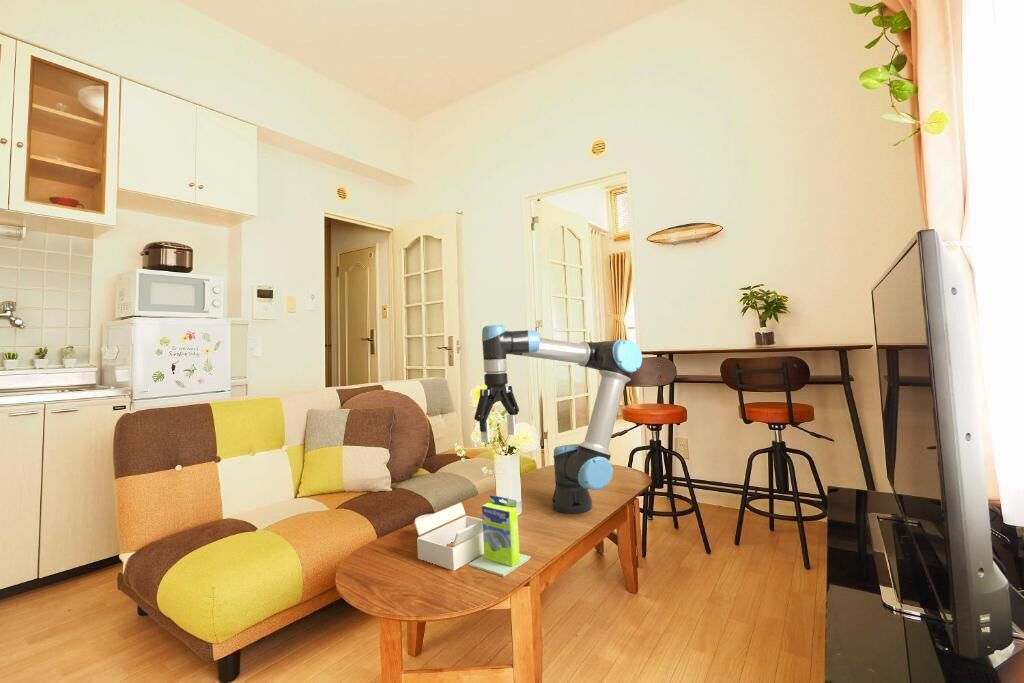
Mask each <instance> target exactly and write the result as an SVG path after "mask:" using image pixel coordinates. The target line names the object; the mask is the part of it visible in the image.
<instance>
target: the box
mask: <svg viewBox="0 0 1024 683" xmlns="http://www.w3.org/2000/svg"><path fill="white" fill-rule="evenodd" d="M500 500H501V501H500ZM502 500H503V501H504V502H502ZM505 502H506V503H505ZM481 512H482V514H481V515H482V517H481V518H482V519H483V540H484V554H483V555H484V558H485V559H489V560H492V561H495V562H498V563H502V564H505V565H508V566H511V567H513V566H514V565H516V564H517V563H519V562H520V554H521V553H520V539H519V538H520V537H519V522H518V521H519V520H518V507H517V499H512V498H509V497H502V496H497V495H491V494H490V495H489V502H486V503H485V504H482V505H481Z"/></svg>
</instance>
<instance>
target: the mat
mask: <svg viewBox="0 0 1024 683" xmlns="http://www.w3.org/2000/svg"><path fill="white" fill-rule="evenodd" d="M531 559H532V558H531V556H530V555H526V554H523V553H520V562H519V563H517V564H516V565H514V566H513V567H511V566H508V565H505V564H502V563H498V562H495V561H492V560H489V559H485V558H484V554H482V555H480V556H479V557H477V558H475V559H473V560H472V561H470V562H468V566H469V567H472V568H474V569H477V570H480V571H484V572H487V573H491V574H492V575H497V576H500V577H503V578H505V577H506V576H507V575H508V574H510V573H511V572H513V571H515V570H516V569H518V568H519V567H520V566H522V565H523V564H525V563H526V562H527V561H530V560H531Z"/></svg>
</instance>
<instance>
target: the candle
mask: <svg viewBox="0 0 1024 683" xmlns="http://www.w3.org/2000/svg"><path fill="white" fill-rule="evenodd" d="M432 514H433V513H426V514H423V515H419V516H418V517H415V519H414V522H415V521H418V520H420V519H423V518H425V517H427V516H430V515H432ZM442 526H443V525H440V526H438V527H436V528H434V529H432V530H429V531H427V532H425V533H423V534H421V535H418V534H417V536H418V537H421V536H423V535H425V534H427V533H429V532H431V531H434V530H436V529H438V528H440V527H442Z"/></svg>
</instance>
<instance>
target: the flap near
mask: <svg viewBox="0 0 1024 683" xmlns="http://www.w3.org/2000/svg"><path fill="white" fill-rule="evenodd" d="M482 531H483V520H482V521H480V522H478V523H476V524H474V525H472V526H470V527H468V528H466V529H464V530H462V531H459V532H457V534H456V537H455V540H454V542H452V543H453V544H452V545H453V547H455V546H457V545H459V544H461V543H462V542H464V541H466V540H468V539H470V538H472V537H473V536H474V535H476V534H478V533H480V532H482Z"/></svg>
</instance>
